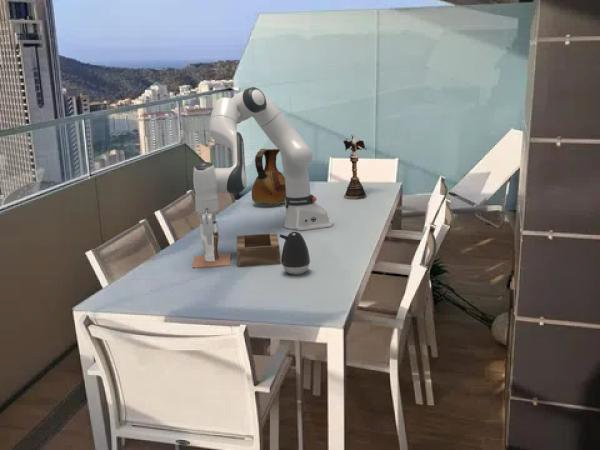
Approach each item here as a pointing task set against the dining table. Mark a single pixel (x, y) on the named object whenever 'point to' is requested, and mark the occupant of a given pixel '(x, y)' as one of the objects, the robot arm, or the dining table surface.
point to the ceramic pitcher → (268, 179)
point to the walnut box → (258, 249)
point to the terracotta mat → (223, 261)
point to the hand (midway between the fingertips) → (210, 240)
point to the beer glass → (210, 250)
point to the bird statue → (354, 170)
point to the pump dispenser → (295, 254)
